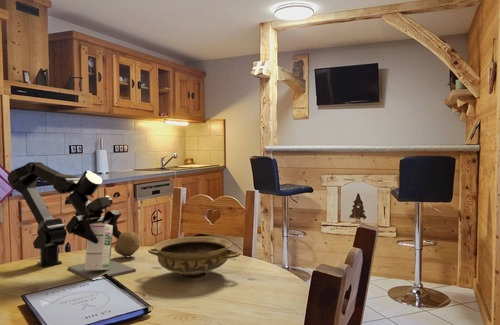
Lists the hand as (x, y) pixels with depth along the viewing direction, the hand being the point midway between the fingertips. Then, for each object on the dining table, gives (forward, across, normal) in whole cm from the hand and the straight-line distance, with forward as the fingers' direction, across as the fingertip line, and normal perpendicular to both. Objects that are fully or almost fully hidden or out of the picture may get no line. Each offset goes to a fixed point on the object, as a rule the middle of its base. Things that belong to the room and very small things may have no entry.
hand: (108, 240), depth 123 cm
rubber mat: (+4, +1, +10) cm, 11 cm away
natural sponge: (+2, +19, +14) cm, 23 cm away
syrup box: (+5, -4, +8) cm, 10 cm away
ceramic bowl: (+27, +8, -12) cm, 31 cm away
